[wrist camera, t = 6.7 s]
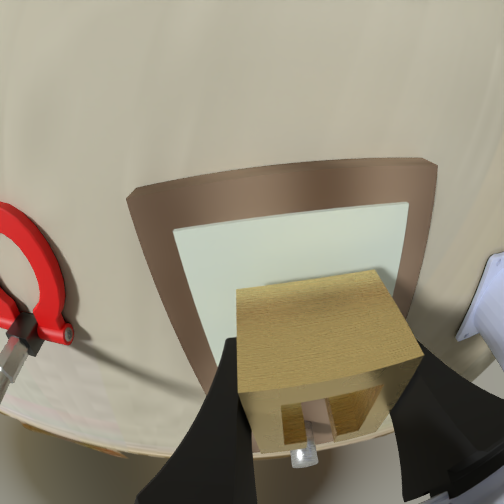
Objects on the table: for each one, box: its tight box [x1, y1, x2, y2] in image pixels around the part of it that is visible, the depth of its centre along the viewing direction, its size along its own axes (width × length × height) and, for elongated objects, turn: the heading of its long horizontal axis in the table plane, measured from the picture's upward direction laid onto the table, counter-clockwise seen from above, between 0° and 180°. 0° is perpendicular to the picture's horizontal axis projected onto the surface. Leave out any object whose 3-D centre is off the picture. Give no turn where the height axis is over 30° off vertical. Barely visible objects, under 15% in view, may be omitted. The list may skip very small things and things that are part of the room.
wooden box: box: [236, 269, 424, 454], centre depth 9 cm, size 5×6×4 cm
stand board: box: [126, 158, 438, 453], centre depth 17 cm, size 12×27×1 cm, turn 7°
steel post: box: [290, 420, 318, 468], centre depth 18 cm, size 2×2×4 cm
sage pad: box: [173, 202, 409, 367], centre depth 12 cm, size 9×9×1 cm
